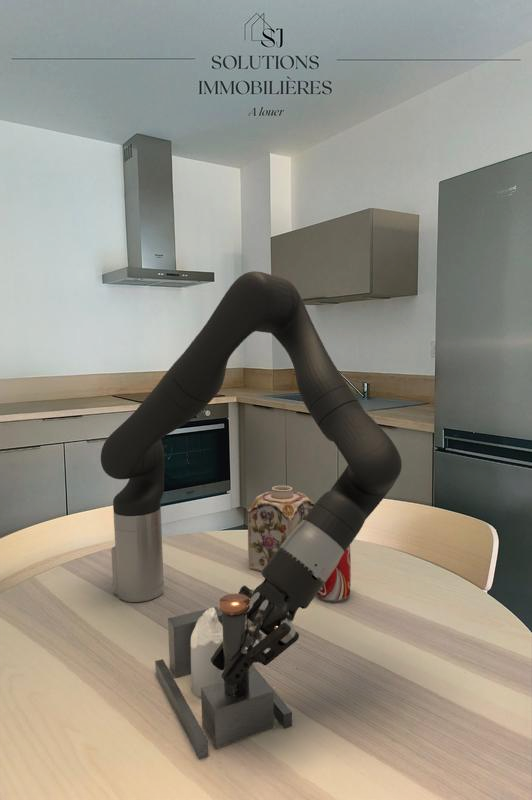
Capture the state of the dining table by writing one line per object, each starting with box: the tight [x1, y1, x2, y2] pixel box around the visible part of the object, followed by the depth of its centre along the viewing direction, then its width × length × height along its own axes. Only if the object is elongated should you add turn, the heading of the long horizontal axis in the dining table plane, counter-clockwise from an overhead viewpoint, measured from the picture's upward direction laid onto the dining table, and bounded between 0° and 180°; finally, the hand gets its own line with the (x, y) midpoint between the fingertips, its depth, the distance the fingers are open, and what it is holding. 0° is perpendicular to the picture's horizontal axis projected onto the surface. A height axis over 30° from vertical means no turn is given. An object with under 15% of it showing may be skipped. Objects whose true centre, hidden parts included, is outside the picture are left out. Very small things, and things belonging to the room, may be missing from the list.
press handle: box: [200, 593, 275, 749], centre depth 72 cm, size 5×8×17 cm, turn 116°
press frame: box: [154, 606, 293, 760], centre depth 79 cm, size 20×13×8 cm, turn 26°
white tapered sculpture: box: [190, 607, 224, 698], centre depth 81 cm, size 6×12×6 cm
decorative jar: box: [247, 485, 315, 573], centre depth 125 cm, size 12×12×18 cm
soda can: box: [316, 544, 352, 603], centre depth 110 cm, size 7×7×12 cm
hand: (221, 673), depth 71 cm, fingers closed on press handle, 3 cm apart
